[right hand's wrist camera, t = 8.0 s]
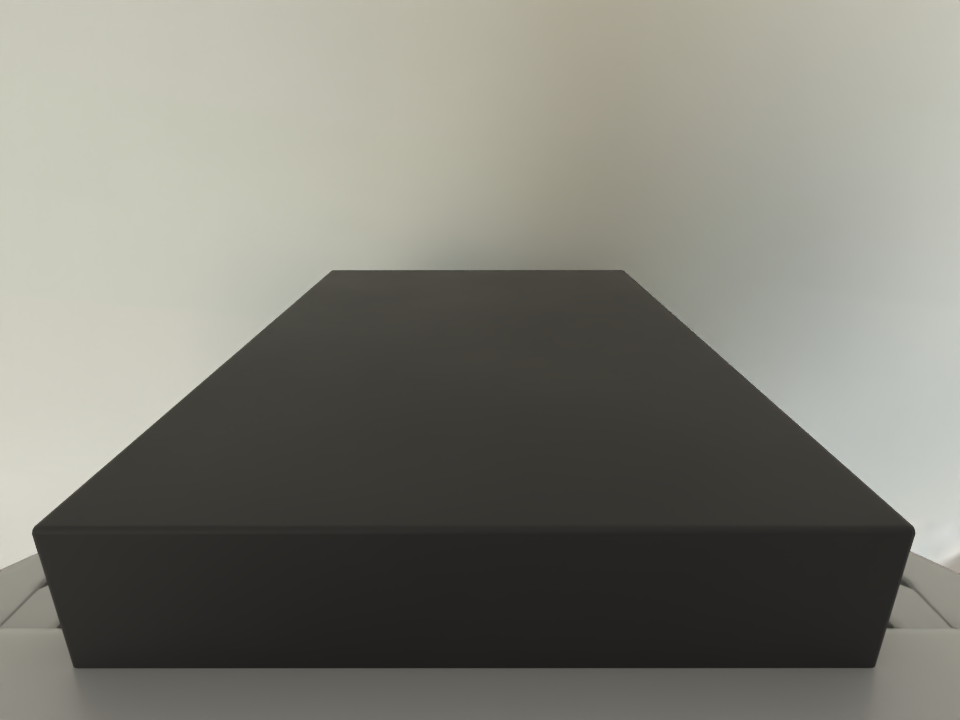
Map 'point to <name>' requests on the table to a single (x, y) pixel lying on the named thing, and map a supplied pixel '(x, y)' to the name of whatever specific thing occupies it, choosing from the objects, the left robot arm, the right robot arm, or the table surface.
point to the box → (474, 497)
